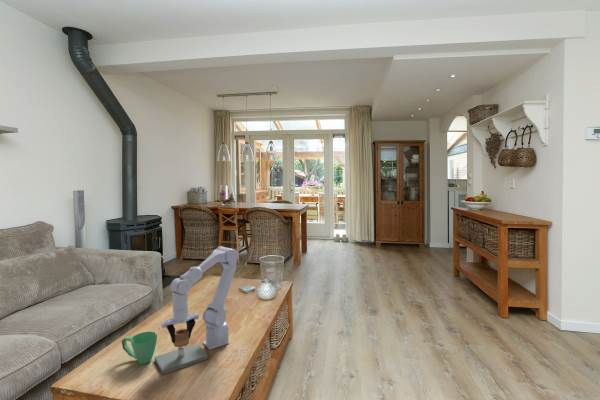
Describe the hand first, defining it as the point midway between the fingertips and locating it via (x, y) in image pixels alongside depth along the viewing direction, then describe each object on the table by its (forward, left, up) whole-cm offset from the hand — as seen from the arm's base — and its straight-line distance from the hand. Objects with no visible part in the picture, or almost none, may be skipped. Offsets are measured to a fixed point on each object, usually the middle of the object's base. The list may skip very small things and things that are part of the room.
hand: (181, 339), depth 133 cm
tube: (0, 0, -2) cm, 2 cm away
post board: (0, 0, -8) cm, 8 cm away
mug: (+14, -10, -9) cm, 19 cm away
